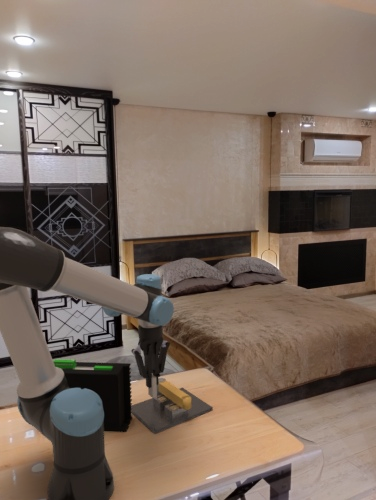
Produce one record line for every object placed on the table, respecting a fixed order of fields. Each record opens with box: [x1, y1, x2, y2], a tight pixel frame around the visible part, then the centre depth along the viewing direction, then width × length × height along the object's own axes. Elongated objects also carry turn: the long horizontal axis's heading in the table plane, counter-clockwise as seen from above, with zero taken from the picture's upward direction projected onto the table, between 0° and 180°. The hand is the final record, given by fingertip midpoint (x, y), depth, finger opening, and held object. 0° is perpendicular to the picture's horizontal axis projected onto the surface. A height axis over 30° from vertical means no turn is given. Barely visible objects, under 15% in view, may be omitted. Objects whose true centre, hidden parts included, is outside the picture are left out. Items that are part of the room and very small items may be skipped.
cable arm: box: [157, 377, 191, 410], centre depth 131 cm, size 18×4×6 cm, turn 36°
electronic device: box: [53, 358, 133, 433], centre depth 125 cm, size 28×11×20 cm, turn 85°
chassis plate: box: [131, 387, 214, 434], centre depth 131 cm, size 22×18×4 cm
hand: (152, 395), depth 128 cm, fingers closed
